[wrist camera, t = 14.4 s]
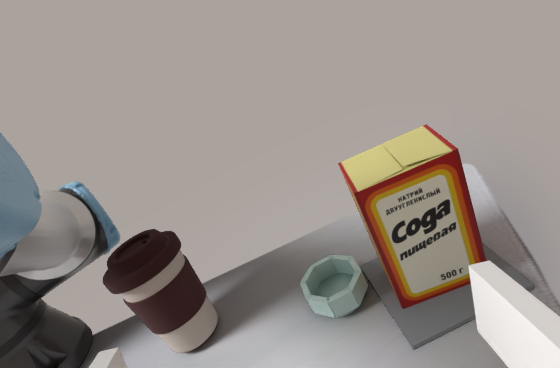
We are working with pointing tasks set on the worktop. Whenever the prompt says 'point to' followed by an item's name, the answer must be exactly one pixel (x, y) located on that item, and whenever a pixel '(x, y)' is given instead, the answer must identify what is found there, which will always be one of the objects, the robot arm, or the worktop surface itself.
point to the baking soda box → (417, 213)
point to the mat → (433, 303)
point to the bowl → (334, 286)
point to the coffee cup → (162, 289)
